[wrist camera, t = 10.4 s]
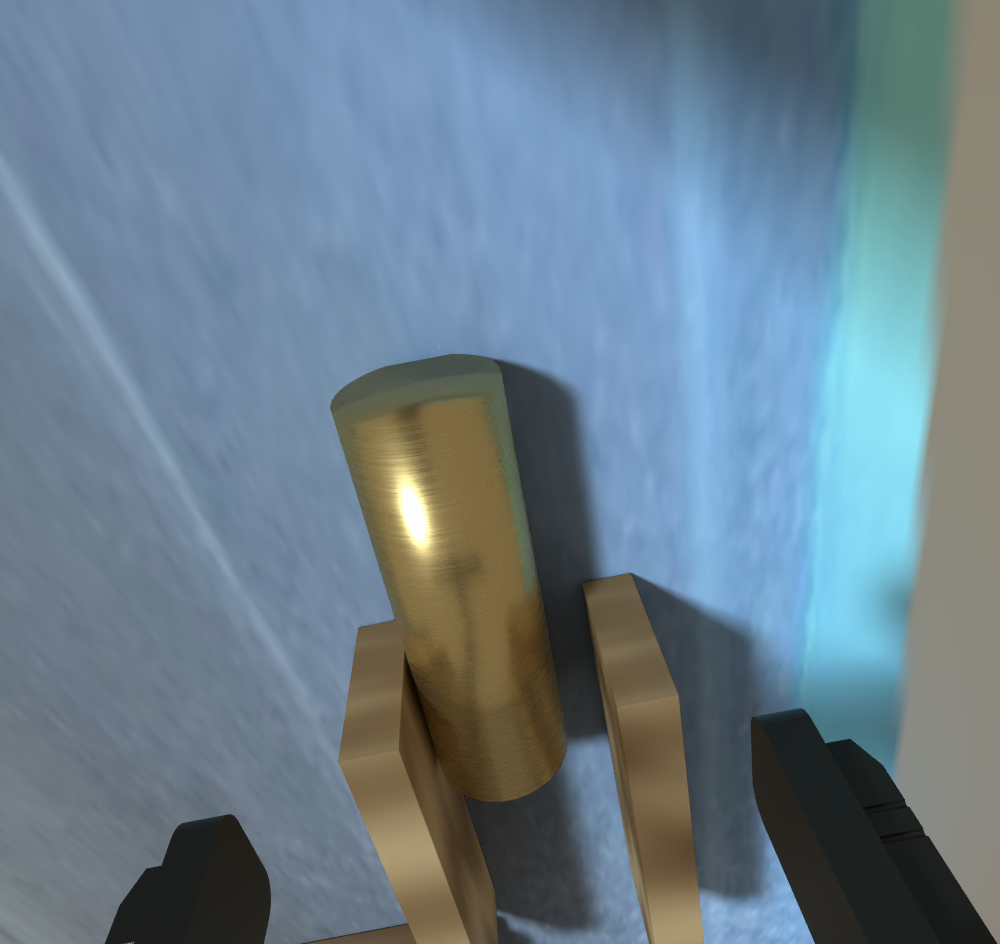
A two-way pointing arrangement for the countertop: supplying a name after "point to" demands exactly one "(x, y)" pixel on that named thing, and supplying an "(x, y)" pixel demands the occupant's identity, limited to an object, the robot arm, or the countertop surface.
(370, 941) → the roller stand
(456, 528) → the axle
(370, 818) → the tan piece
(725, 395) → the countertop surface
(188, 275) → the countertop surface
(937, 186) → the countertop surface
